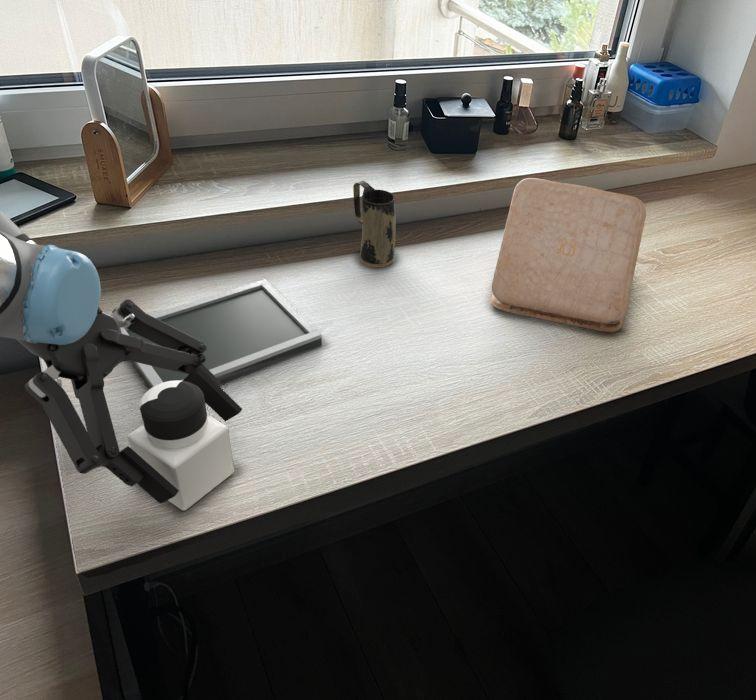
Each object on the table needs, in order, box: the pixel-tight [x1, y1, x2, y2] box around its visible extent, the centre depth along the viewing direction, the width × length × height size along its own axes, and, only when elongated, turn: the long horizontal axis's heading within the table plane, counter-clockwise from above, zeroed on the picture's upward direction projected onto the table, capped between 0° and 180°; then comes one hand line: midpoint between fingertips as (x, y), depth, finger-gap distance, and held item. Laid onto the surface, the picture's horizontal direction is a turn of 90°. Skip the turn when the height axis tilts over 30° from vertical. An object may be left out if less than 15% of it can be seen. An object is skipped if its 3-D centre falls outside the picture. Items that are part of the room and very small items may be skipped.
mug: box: [352, 180, 397, 268], centre depth 115 cm, size 8×6×12 cm
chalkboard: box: [120, 278, 323, 389], centre depth 97 cm, size 22×16×2 cm
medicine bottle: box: [127, 380, 235, 511], centre depth 75 cm, size 7×7×12 cm
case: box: [491, 177, 647, 333], centre depth 111 cm, size 20×21×16 cm
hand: (204, 453), depth 76 cm, fingers open, 12 cm apart
